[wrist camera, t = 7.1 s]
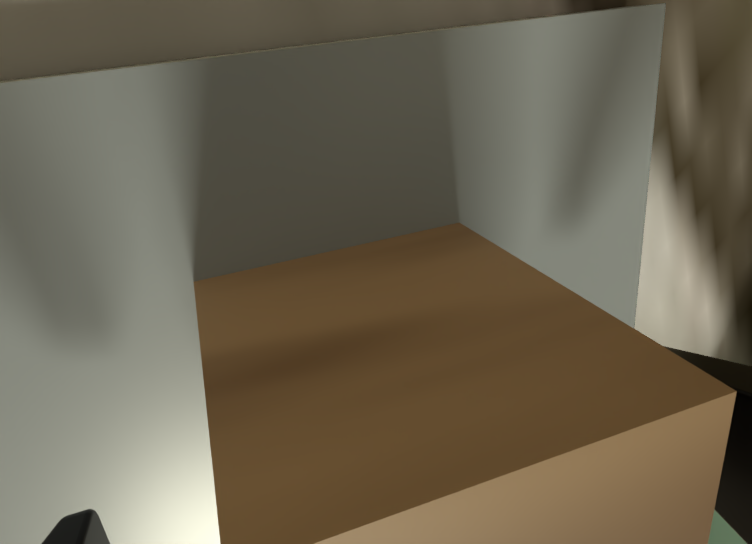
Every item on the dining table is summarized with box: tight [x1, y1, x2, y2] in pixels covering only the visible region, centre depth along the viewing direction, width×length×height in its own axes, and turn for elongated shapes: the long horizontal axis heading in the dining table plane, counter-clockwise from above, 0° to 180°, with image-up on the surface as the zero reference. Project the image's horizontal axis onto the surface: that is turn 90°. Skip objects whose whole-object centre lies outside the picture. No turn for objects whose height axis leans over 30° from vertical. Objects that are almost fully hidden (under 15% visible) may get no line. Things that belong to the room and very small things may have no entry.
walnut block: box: [193, 222, 737, 544], centre depth 9 cm, size 5×5×6 cm
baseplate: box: [0, 3, 666, 544], centre depth 12 cm, size 12×14×1 cm
